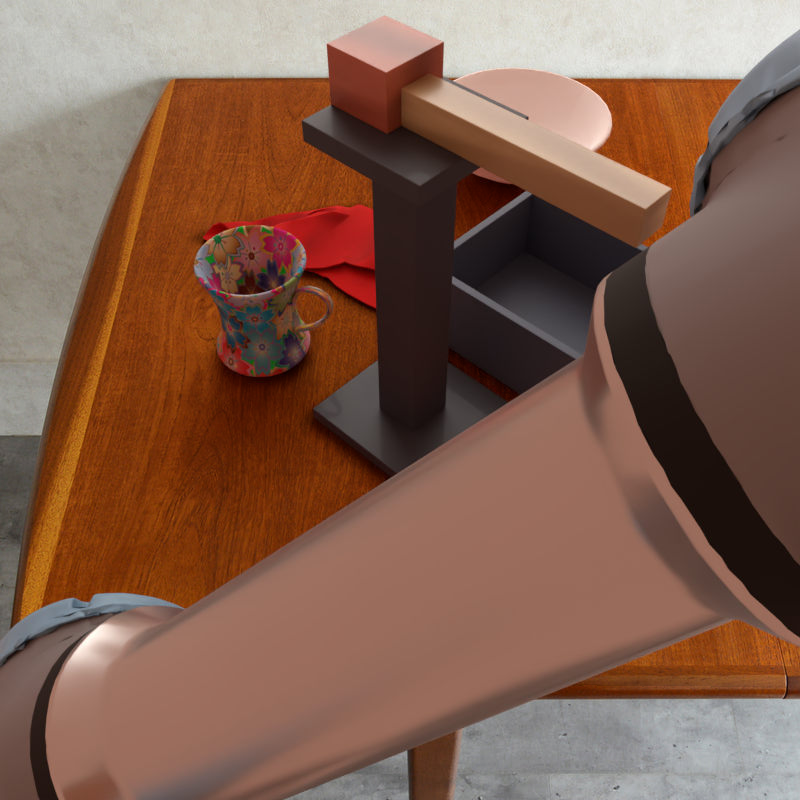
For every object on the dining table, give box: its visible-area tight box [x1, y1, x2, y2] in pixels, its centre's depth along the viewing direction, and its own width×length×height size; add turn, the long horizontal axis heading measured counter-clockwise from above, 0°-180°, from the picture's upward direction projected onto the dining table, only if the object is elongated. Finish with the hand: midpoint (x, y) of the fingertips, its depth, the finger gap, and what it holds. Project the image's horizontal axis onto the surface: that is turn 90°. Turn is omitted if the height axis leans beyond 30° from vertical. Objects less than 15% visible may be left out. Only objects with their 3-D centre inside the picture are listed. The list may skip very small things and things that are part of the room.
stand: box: [301, 75, 529, 478], centre depth 66 cm, size 12×12×28 cm
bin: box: [449, 190, 649, 396], centre depth 79 cm, size 16×25×8 cm, turn 46°
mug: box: [193, 225, 334, 378], centre depth 78 cm, size 12×9×11 cm
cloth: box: [202, 203, 376, 310], centre depth 91 cm, size 26×14×2 cm, turn 63°
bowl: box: [453, 67, 613, 185], centre depth 99 cm, size 20×20×6 cm
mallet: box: [326, 15, 673, 248], centre depth 51 cm, size 5×22×4 cm, turn 46°
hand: (721, 329), depth 48 cm, fingers open, 13 cm apart
